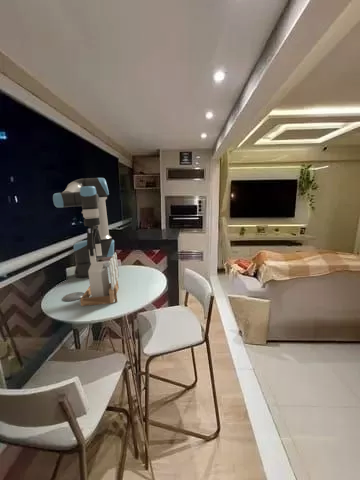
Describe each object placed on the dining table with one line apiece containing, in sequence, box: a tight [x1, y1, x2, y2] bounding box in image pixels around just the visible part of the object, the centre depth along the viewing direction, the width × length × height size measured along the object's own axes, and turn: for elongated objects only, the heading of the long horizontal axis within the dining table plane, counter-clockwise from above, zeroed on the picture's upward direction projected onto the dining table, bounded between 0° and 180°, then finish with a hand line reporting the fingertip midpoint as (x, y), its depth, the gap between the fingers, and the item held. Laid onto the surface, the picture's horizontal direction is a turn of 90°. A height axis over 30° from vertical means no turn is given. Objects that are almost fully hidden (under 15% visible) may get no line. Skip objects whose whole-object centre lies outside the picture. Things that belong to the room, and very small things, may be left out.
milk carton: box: [88, 261, 110, 297], centre depth 135 cm, size 7×7×19 cm
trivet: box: [62, 291, 85, 302], centre depth 138 cm, size 11×11×1 cm
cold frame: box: [79, 252, 120, 307], centre depth 135 cm, size 20×17×21 cm
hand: (96, 258), depth 133 cm, fingers open, 13 cm apart
